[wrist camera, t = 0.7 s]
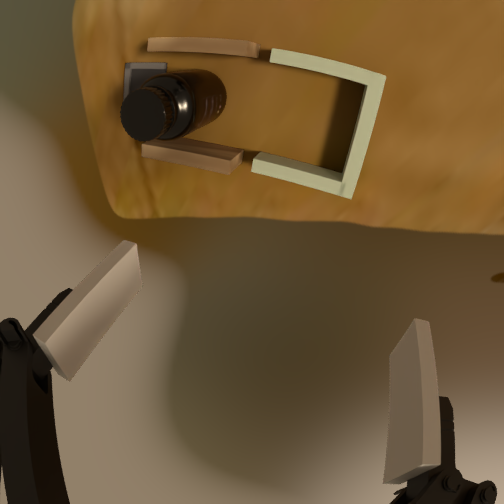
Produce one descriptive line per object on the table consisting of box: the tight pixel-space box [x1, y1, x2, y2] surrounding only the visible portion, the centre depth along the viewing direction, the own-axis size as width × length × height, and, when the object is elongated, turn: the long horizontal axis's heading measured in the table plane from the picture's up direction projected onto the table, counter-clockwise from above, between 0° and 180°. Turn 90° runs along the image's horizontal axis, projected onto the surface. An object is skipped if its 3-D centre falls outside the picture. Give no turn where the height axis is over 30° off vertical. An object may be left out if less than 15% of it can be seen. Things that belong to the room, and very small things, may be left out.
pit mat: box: [123, 63, 167, 101], centre depth 32 cm, size 8×6×1 cm
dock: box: [251, 48, 386, 199], centre depth 28 cm, size 14×11×3 cm
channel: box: [142, 37, 260, 175], centre depth 30 cm, size 14×11×4 cm
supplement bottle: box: [120, 70, 227, 142], centre depth 27 cm, size 7×7×12 cm
